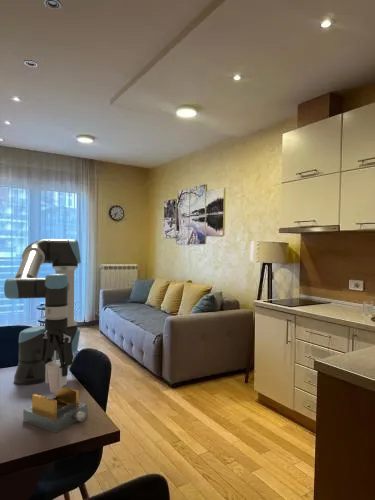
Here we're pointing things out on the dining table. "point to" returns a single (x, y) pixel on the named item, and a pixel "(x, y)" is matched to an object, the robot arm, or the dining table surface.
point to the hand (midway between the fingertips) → (55, 383)
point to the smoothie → (54, 374)
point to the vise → (56, 410)
